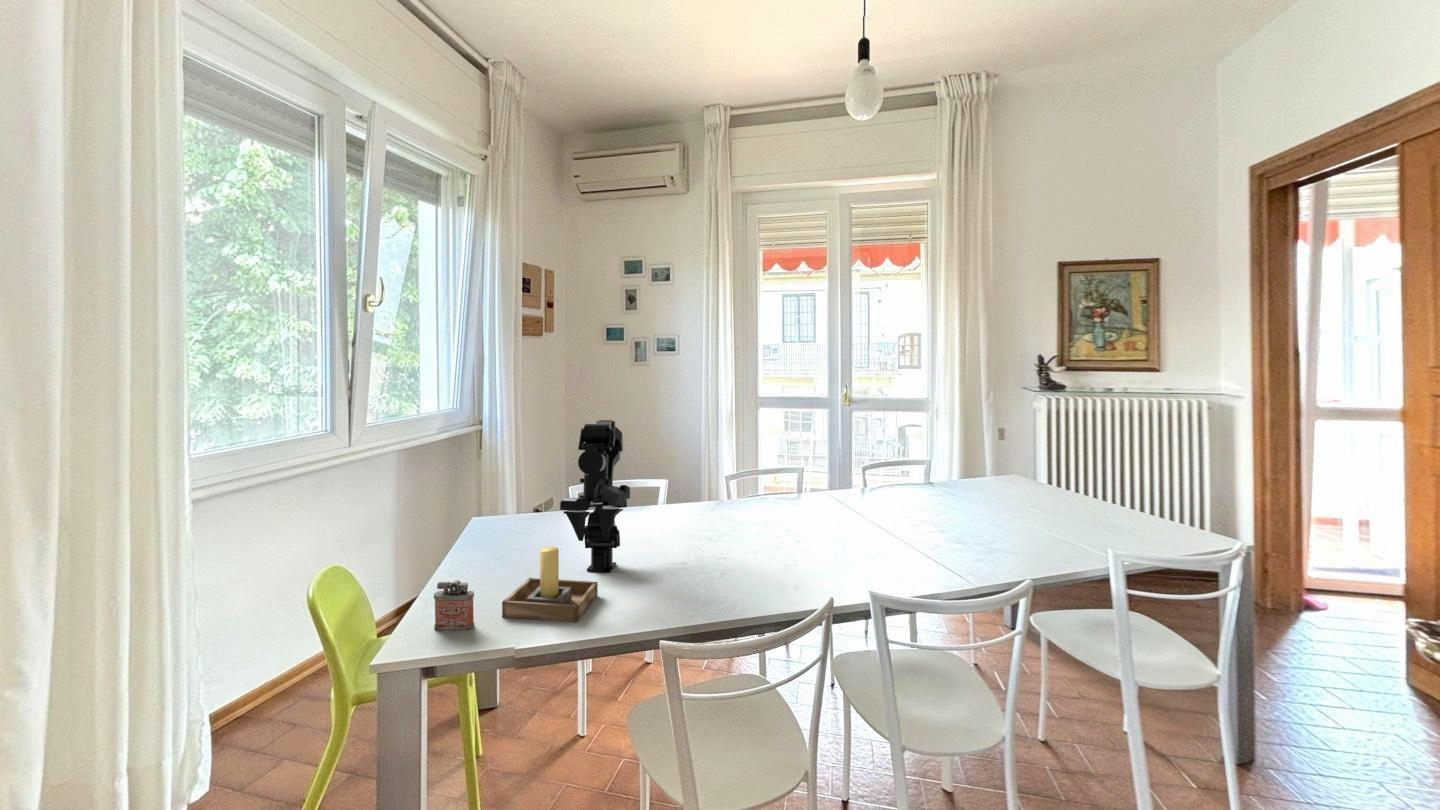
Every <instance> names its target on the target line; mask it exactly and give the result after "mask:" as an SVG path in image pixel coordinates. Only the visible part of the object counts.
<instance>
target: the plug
mask: <svg viewBox="0 0 1440 810" xmlns="http://www.w3.org/2000/svg"><path fill="white" fill-rule="evenodd" d="M559 551H560V550H559V547H556V546H546V547H542V548H541V549H540V550H539V578H540V597H545V598H557V597H558V596H559V580H560V578H559V576H560V575H559V572H560V569H559V564H560V563H559V557H560V556H559Z"/></svg>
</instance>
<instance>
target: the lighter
mask: <svg viewBox="0 0 1440 810" xmlns="http://www.w3.org/2000/svg"><path fill="white" fill-rule="evenodd" d="M436 588H437V590H439V591H436V592H434V593H433V599H434V618H435V619H434V626H433V627H434V631H437V632H447V631H457V632H466V631H465V630H469V631H471V630H470V629H472V630H474V629H475V621H474V597H475V591H473V590H468V588H469V583H468V582H461V581H460V580H459V579H458V580H457V579H456V580H454V581H453V582H451V581H438V582H437V584H436Z"/></svg>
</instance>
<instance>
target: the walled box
mask: <svg viewBox="0 0 1440 810" xmlns="http://www.w3.org/2000/svg"><path fill="white" fill-rule="evenodd" d="M598 584H599V583H598V581H592V580H591V581H589V580H588V581H587V580H573V579H570V580H569V579H559V596H558V597H557V598H545V597H540V577H539V578H538V577H537V578H535V577H528V578H527V579H526V580H525V581H524V582H523V583H521V584H520V586H518V587H517V588H515V590H513V592H512V593H510V594H509V595H508V596H507V597H506V598H505V599H504V600H503V601H502V602H501V605H502V606H501V617H502V618H504V619H505V618H506V619H521V620H522V619H523V620H538V621H550V620H551V622H553V621H554V620H556V621H554V622H564V621H572V622H571V623H578V622H579V621H580V620H581V619H582V617H583V616H584V615H585V613H586V612H587V611H586V610H588V609H589V608H590V607H591V605H592V604H593V603H594V601H595V600H596V599H597V597H598V595H599V594H598V593H599V592H598ZM583 614H584V615H583ZM579 619H580V620H579ZM573 621H574V622H573Z"/></svg>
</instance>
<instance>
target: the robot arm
mask: <svg viewBox="0 0 1440 810" xmlns="http://www.w3.org/2000/svg"><path fill="white" fill-rule="evenodd" d="M616 425H617V424H616V421H615V420H613V419H608V420H607V419H606V420H605V419H600V420H599V419H598V420H597V421H596V423H585V424H584V426H583V428H581V430H580V435H579V441H578V449H577V450H579V451H583V452H582V453H581V454H580V455H579V457H578V460H577V464H578V467H579V469H580V471H581V472H582V473H584V474H583V478H580V479H579V483H580V484H581V483H583V495H582V494H581V495H579V497H563V498H562V499H561V500H560V502H559V510H560V511H563V514H564V515H566V516H567V518H568V520H569V522H570V524H571V526H572V529H573V531H574V533H575V535H576V538H577V540H578V541H579V542H583V541H584V548H585V549H590V565H589V566H588V567H587V568H586V572H597V573H611V572H612V571H613V570H614V568H615V567H616V565H617V562H616V561H615V562H614V561H613V555H614V554H613V553H614V552H613V549H617V548H618V547H620V546H621V533H620V530H619V529H618V526H617V525H616V520H615V519H616V517H617V515H618V514H620V512H623V511H624V508H627V506H628V505H627V504H628V500H629V499H631V496H630V495H631V488H630V486H629V485H626V484H620V486H614V471H615V466H616V465H617V464H618V462H619V461H620V460H621V452H622V453H623V450H624V439H623V437H624V436H623V432H622V431H621V430H620V429H619V428H618V427H617V426H616ZM590 508H594V509H593V511H592V512H591V511H588V510H589V509H590ZM586 520H587V525H586Z"/></svg>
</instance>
